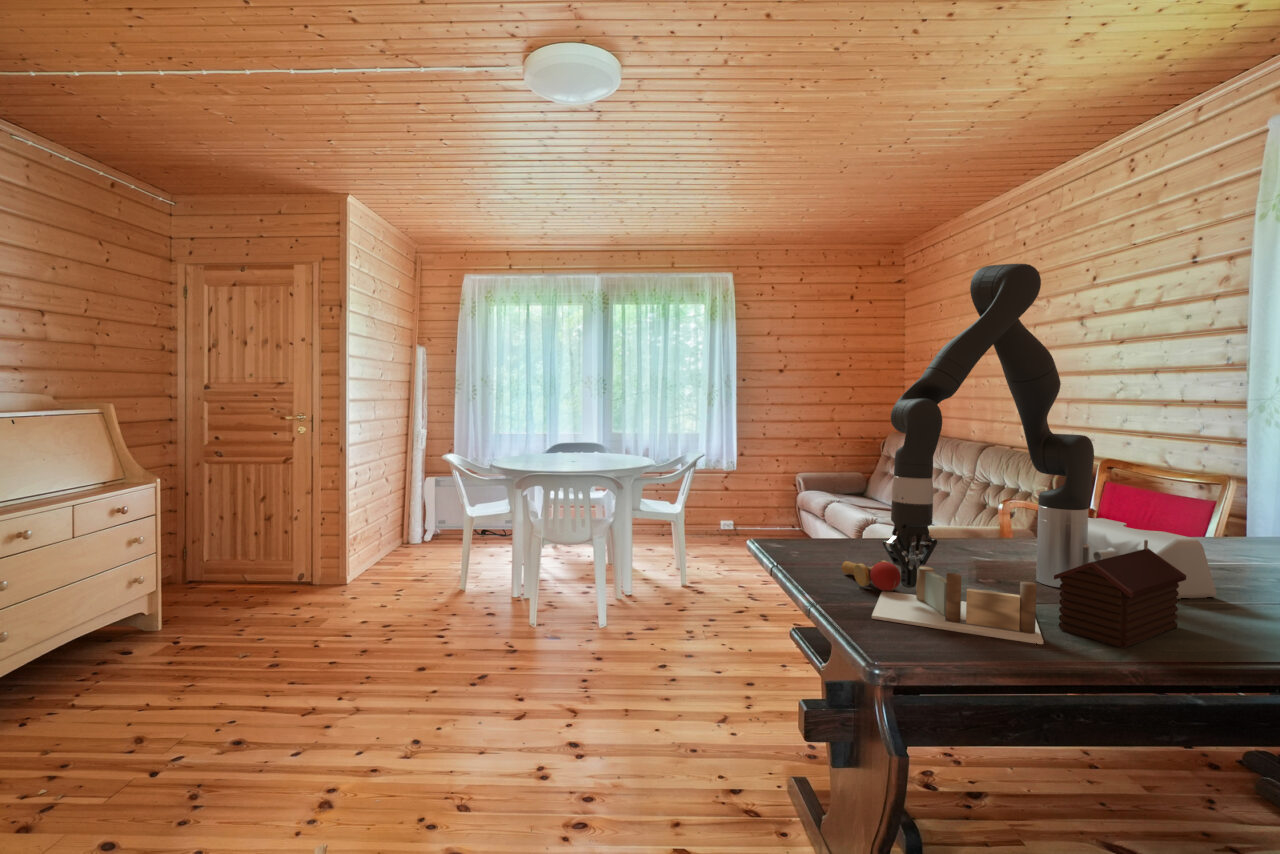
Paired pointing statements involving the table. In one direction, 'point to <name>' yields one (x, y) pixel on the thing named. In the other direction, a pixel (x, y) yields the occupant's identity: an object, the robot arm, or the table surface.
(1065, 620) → the model building
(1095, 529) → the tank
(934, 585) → the panel
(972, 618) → the fence fixed
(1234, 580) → the table surface
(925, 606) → the board
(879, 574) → the kendama
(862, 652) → the table surface
